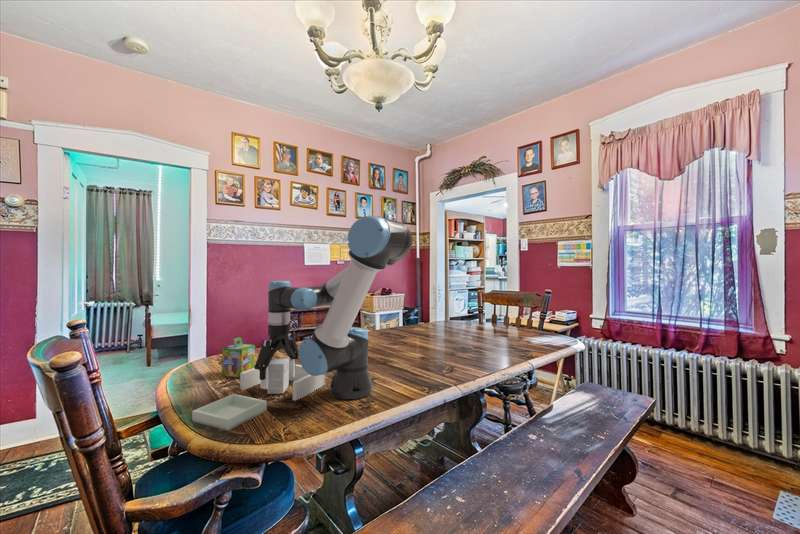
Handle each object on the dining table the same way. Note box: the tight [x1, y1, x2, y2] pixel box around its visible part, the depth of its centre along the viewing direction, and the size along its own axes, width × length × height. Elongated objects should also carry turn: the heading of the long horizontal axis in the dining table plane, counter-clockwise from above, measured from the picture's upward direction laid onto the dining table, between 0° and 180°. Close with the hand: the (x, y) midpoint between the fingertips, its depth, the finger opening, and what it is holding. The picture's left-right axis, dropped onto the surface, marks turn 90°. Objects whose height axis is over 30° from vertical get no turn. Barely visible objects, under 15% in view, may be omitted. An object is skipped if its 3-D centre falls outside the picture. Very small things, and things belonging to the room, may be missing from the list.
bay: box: [239, 364, 326, 402], centre depth 123 cm, size 25×16×6 cm, turn 68°
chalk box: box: [221, 337, 256, 379], centre depth 137 cm, size 9×9×15 cm
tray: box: [191, 393, 268, 432], centre depth 99 cm, size 14×14×3 cm
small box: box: [267, 357, 290, 395], centre depth 120 cm, size 8×6×10 cm
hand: (278, 382), depth 120 cm, fingers open, 13 cm apart
